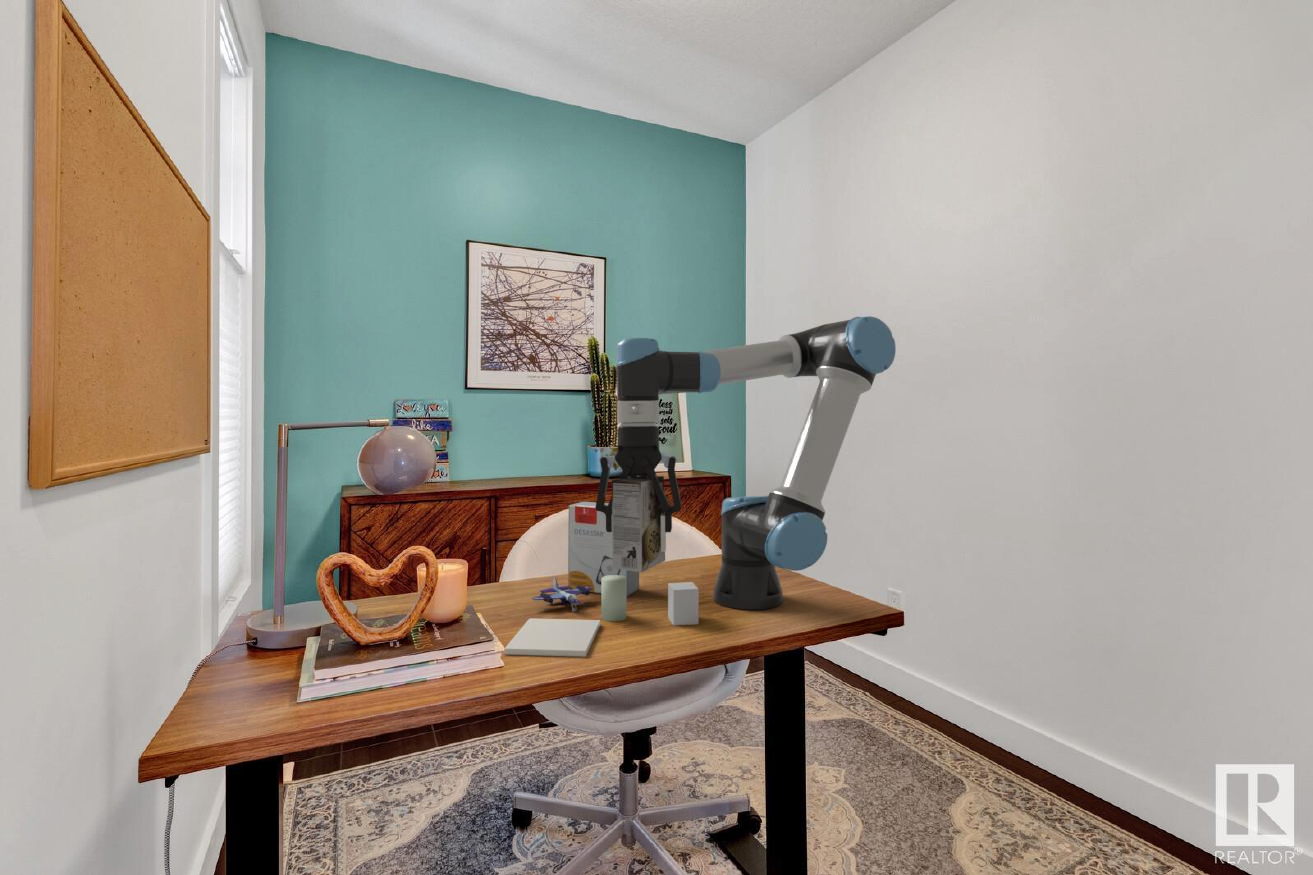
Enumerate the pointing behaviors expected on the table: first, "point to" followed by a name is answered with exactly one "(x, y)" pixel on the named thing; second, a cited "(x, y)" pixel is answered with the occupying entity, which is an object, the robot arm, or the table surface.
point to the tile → (554, 637)
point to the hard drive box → (592, 550)
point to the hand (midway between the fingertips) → (639, 549)
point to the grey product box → (636, 524)
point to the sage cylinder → (613, 598)
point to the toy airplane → (563, 594)
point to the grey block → (683, 603)
